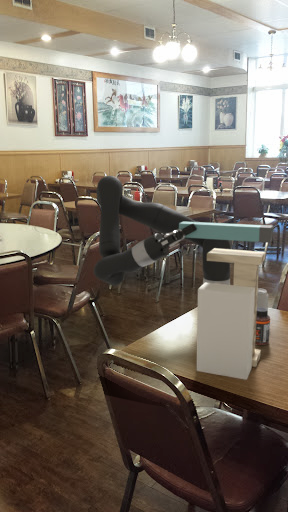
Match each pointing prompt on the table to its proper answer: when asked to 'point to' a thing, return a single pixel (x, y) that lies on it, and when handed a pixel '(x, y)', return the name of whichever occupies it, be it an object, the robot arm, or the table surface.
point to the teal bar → (230, 231)
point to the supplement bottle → (262, 326)
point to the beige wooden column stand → (243, 277)
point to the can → (262, 298)
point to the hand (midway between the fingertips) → (197, 225)
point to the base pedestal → (225, 329)
